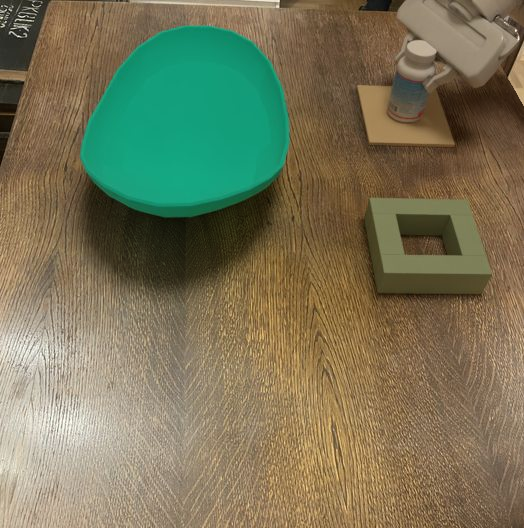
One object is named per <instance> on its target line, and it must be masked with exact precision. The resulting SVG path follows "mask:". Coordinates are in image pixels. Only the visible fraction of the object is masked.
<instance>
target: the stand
mask: <svg viewBox="0 0 524 528" xmlns="http://www.w3.org/2000/svg"><path fill="white" fill-rule="evenodd" d="M470 205H471V204H470V202H469V200H468V199H464V198H463V199H461V198H460V199H458V198H457V199H456V198H455V199H454V198H410V197H409V198H407V197H406V198H405V197H369V198H368V203H367V206H366V209H365V213H364V218H363V221H364V226H365V231H366V237H367V243H368V248H369V253H370V259H371V265H372V270H373V274H374V275H373V276H374V281H375V287H376V292H377V294H413V295H414V294H415V295H416V294H419V295H420V294H421V295H423V294H425V295H427V294H428V295H429V294H430V295H482V294H483V292H484V290H485V288H486V287H487V285H488V283H489V281H490V280H491V278H492V276H493V271H492V269H491V266H490V262H489V258H488V256H487V253H486V251H485V247H484V245H483V242H482V238H481V235H480V232H479V229H478V226H477V224H476V221H475V218H474V215H473V212H472V209H471V206H470ZM402 236H439V237H440V236H441V238H442V241H443V245H444V250H445V252H446V254H444V255H443V254H405V249H404V246H403V240H402Z"/></svg>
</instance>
